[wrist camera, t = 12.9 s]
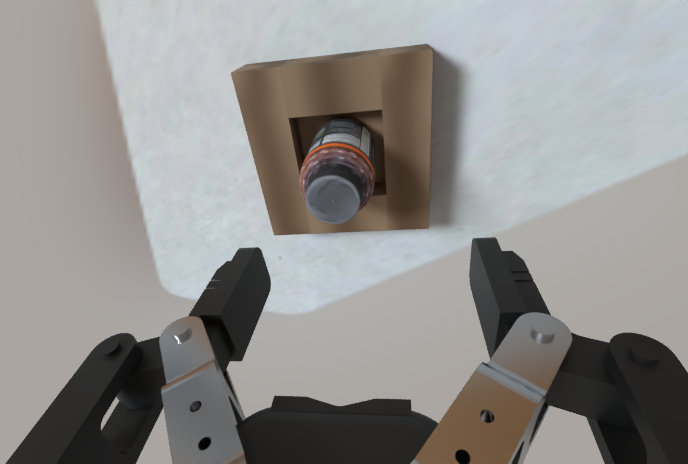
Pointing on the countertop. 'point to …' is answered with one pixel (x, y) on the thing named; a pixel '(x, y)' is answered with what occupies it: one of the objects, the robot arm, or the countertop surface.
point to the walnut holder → (334, 102)
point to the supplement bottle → (339, 171)
